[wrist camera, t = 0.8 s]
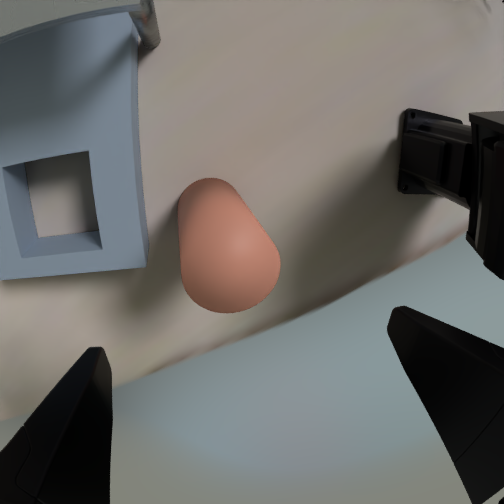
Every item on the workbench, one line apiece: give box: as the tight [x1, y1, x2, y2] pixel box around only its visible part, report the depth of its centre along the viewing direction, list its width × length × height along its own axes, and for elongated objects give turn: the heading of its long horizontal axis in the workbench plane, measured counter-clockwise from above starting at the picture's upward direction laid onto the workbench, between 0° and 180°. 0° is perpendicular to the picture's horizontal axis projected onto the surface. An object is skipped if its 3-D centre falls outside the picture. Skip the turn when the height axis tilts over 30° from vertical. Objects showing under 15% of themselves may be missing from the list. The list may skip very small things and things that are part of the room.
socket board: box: [0, 12, 149, 280], centre depth 13 cm, size 10×18×3 cm, turn 179°
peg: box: [178, 178, 280, 313], centre depth 16 cm, size 4×4×8 cm
